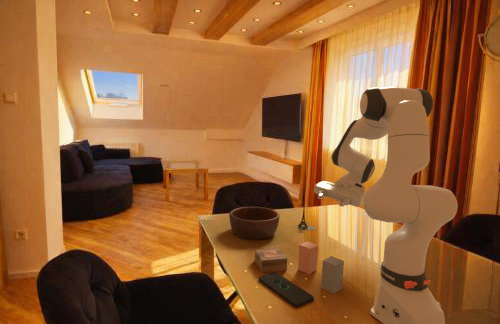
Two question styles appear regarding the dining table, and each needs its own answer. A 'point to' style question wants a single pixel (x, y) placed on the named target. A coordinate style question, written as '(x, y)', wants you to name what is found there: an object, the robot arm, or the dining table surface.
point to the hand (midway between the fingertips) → (329, 200)
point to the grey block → (332, 274)
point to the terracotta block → (307, 257)
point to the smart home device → (286, 289)
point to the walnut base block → (270, 260)
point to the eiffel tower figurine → (305, 224)
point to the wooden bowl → (254, 222)
